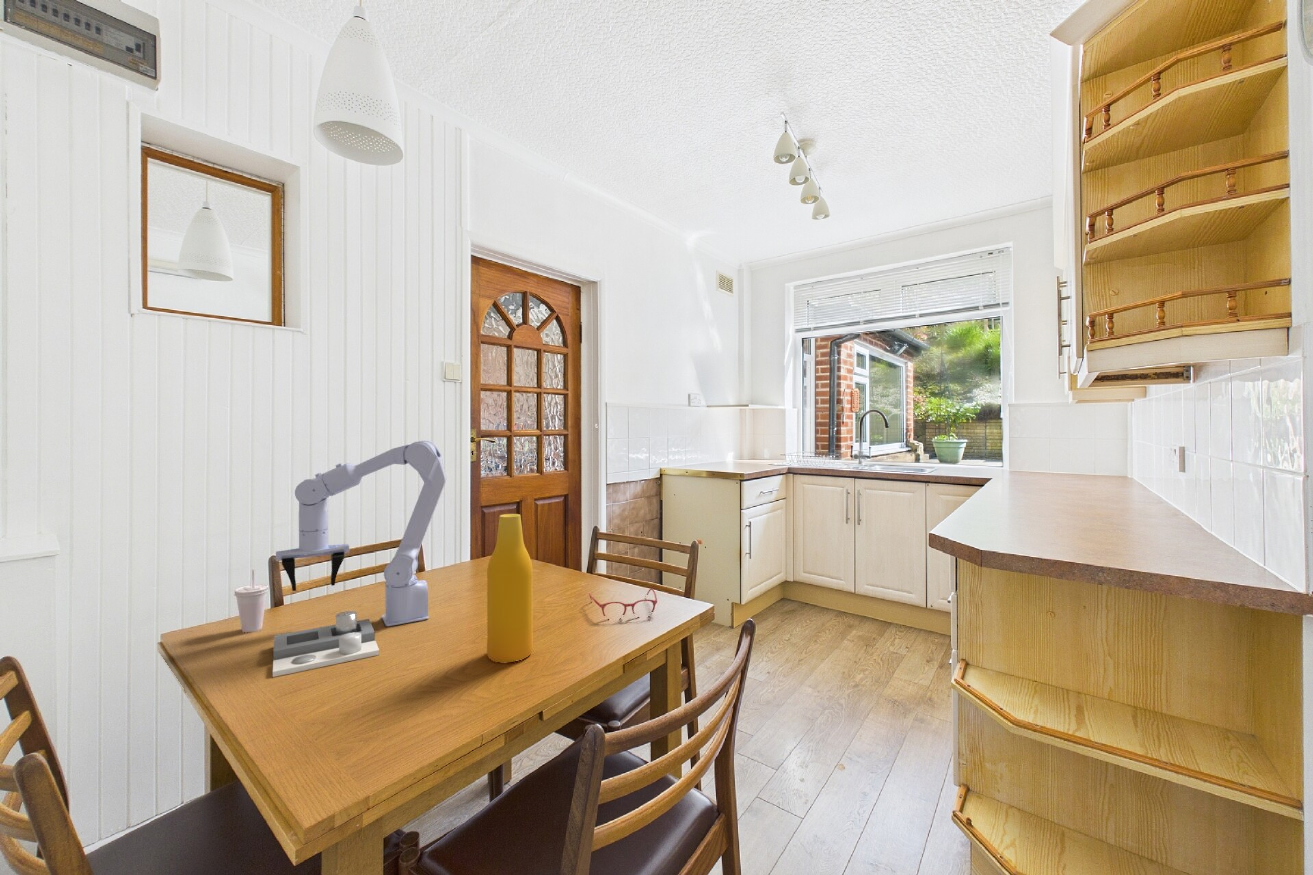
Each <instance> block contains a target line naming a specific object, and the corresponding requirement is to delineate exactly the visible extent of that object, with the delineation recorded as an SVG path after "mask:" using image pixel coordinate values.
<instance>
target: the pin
mask: <svg viewBox="0 0 1313 875" xmlns="http://www.w3.org/2000/svg"><path fill="white" fill-rule="evenodd" d="M357 613H358V612H357V611H354V610H347V611H342V612H339V613H337V614H335V625H336V636H339V635H344V634H348V633H355V632H357V621H358V619H357V618H358V617H357V615H358V614H357Z"/></svg>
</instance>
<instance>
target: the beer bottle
mask: <svg viewBox="0 0 1313 875" xmlns="http://www.w3.org/2000/svg"><path fill="white" fill-rule="evenodd" d="M523 534H524V533H523V526H522V518H521V514H518V513H504V514H500V515H499V518H498V526H497V536H496V543H495V548H494V550H493V552H492V554H491V556H490V559H489V561H488V564H487V568H486V569H487V571H486V585H487V586H486V600H487V601H486V603H487V604H486V612H487V615H486V617H487V620H486V624H487V625H486V626H487V627H486V628H487V632H486V633H487V634H486V639H487V640H486V651H487V652H486V653H487V657H488V659H489V660H490V659H491V660H490V661H492V660H493V661H492V662H494V661H496V662H495V663H497V662H513V661H516V660H520V659H523V658H526V657H527V656H529V655H530V654H531V655H532V653H533V649H534V635H533V634H534V633H533V632H534V627H533V625H534V621H533V618H534V617H533V616H534V612H533V611H534V608H533V607H534V604H533V603H534V602H533V601H534V600H533V599H534V595H533V594H534V593H533V592H534V591H533V588H534V586H533V584H534V581H533V580H534V579H533V578H534V577H533V575H534V572H533V571H534V569H533V568H534V567H533V563H532V562H533V561H532V558H531V557H530V554H529V552H528V550H527V548H526V545H525V543H524V535H523ZM531 652H532V653H531ZM531 655H530V656H531ZM530 656H529V657H530ZM526 659H527V658H526Z"/></svg>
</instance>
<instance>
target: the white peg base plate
mask: <svg viewBox="0 0 1313 875" xmlns="http://www.w3.org/2000/svg"><path fill="white" fill-rule="evenodd" d="M376 656H380V648H379V645H378V644H377V640H375V641H371V642H366V643H361V633H348V634H344V635H342V636H340V637H339V648H335V649H330V650H325V651H320V652H315V653H309V654H304V655H299V656H294V657H289V658H284V659H279V660H274V659H273V662H272V677H273V678H275V677H279V676H284V675H286V676H287V675H289V674H294V673H299V672H304V671H309V670H314V669H319V668H323V667H327V666H332V665H338V664H342V663H346V662H351V661H357V660H361V659H366V658H371V657H376Z"/></svg>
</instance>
